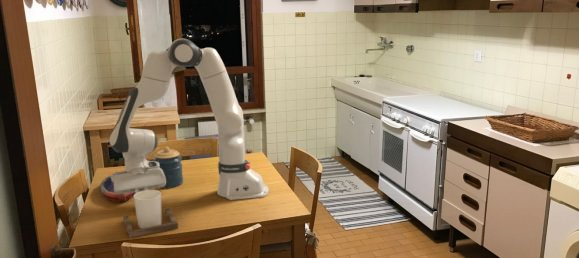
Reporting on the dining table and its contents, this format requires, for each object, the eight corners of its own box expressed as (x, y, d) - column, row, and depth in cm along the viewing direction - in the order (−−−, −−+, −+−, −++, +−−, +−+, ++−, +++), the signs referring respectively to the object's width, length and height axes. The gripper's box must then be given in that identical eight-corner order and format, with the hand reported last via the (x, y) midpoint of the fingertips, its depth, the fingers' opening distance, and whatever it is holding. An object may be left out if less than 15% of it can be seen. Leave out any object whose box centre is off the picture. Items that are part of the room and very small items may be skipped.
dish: (135, 179, 223) (134, 169, 222) (140, 203, 195) (139, 191, 194) (100, 184, 217) (99, 174, 216) (100, 208, 190) (99, 197, 188)
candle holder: (130, 228, 171) (127, 197, 169) (147, 217, 180) (145, 188, 177) (152, 232, 168) (149, 201, 165) (169, 221, 177) (166, 191, 174)
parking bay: (124, 221, 177) (123, 216, 177) (169, 212, 184) (168, 207, 184) (129, 238, 164) (129, 232, 163) (178, 228, 171) (177, 223, 170)
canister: (149, 187, 211) (146, 150, 207) (162, 178, 224) (159, 142, 220) (176, 189, 209) (174, 151, 205) (187, 179, 222) (185, 143, 217)
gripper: (110, 169, 184) (115, 201, 178) (162, 161, 193) (169, 191, 187) (110, 176, 189) (115, 207, 183) (161, 169, 198) (168, 198, 192)
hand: (143, 199), depth 185 cm, fingers closed
